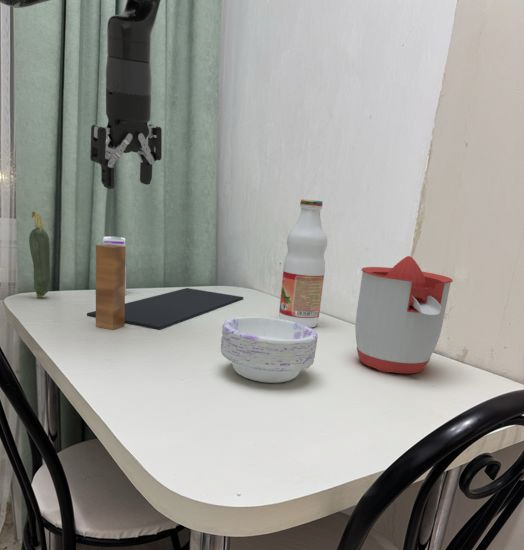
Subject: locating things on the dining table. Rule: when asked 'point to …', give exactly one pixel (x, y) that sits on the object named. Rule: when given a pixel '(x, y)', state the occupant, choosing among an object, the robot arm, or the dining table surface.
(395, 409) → the dining table surface
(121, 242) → the syrup box
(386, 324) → the citrus juicer
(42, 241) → the vegetable
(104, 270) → the oak stick
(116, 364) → the dining table surface
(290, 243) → the fruit juice
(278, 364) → the paper bowls
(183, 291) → the mat
